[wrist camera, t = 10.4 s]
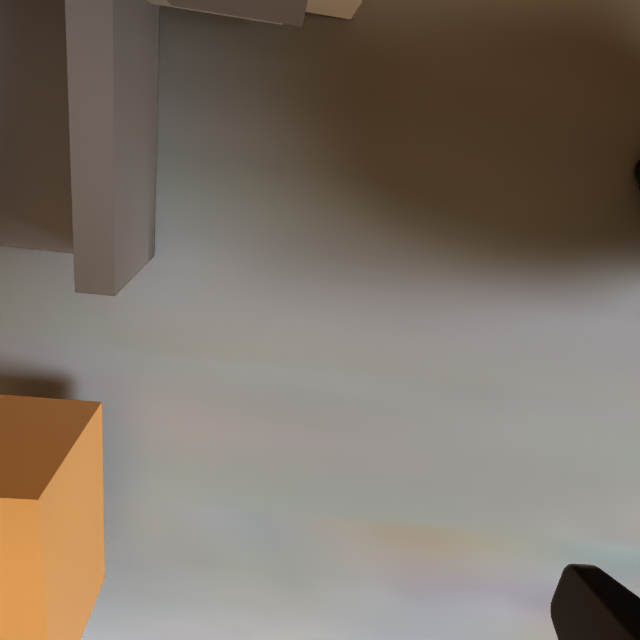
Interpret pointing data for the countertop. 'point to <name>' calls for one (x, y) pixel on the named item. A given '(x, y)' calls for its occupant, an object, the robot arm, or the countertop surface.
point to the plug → (50, 516)
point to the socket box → (94, 124)
